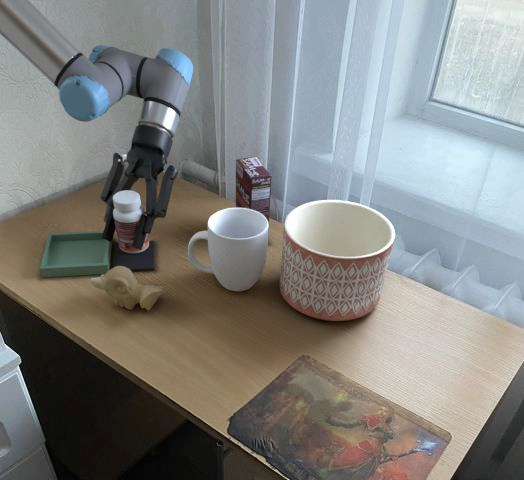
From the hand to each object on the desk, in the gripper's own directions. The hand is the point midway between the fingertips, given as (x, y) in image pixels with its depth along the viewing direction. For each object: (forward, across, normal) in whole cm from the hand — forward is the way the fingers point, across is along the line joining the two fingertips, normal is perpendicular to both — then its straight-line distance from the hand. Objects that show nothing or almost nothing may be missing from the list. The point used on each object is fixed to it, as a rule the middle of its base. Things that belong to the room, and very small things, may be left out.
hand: (121, 243), depth 106 cm
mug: (+1, -23, -4) cm, 23 cm away
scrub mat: (+2, -1, -4) cm, 4 cm away
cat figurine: (+11, -9, +6) cm, 15 cm away
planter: (-2, -42, -7) cm, 42 cm away
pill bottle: (-1, 0, -5) cm, 5 cm away
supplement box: (-11, -20, -16) cm, 28 cm away
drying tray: (+5, +9, 0) cm, 10 cm away
